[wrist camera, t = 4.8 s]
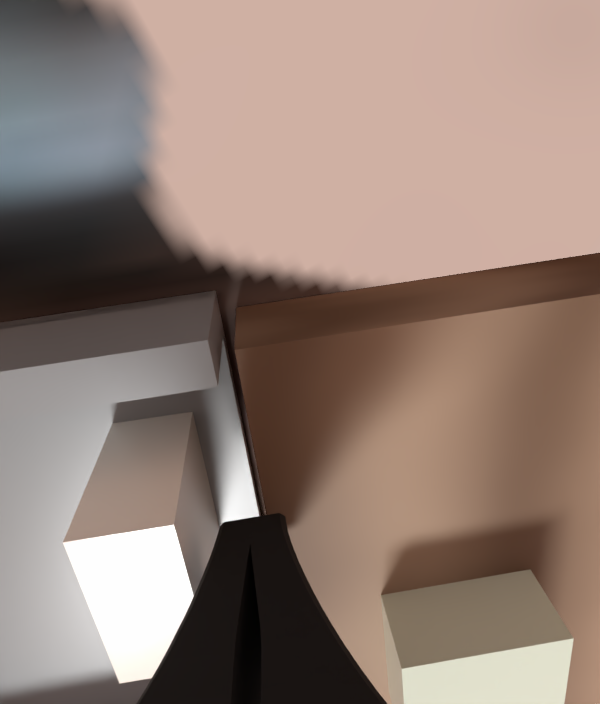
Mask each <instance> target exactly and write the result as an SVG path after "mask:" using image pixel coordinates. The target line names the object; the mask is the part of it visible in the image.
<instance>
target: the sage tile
mask: <svg viewBox="0 0 600 704" xmlns="http://www.w3.org/2000/svg"><path fill="white" fill-rule="evenodd" d="M381 604H382V616H383V628H384V640H385V652H386V664H387V676H388V688H389V694H390V698H391V702H392V704H564V702H565V695H566V688H567V681H568V674H569V667H570V661H571V654H572V647H573V640H574V638H573V636H572V635H571V633H570V632H569V630H568V629H567V627H566V625H565V624H564V622H563V621H562V619H561V617H560V616H559V614H558V613H557V611H556V609H555V608H554V606H553V605H552V603H551V601H550V600H549V598H548V597H547V595H546V593H545V592H544V590H543V589H542V587H541V585H540V584H539V582H538V581H537V579H536V577H535V576H534V574H533V573H532V571H531V569H530V570H524V571H518V572H512V573H506V574H501V575H495V576H489V577H483V578H477V579H471V580H466V581H460V582H454V583H448V584H442V585H437V586H431V587H425V588H419V589H413V590H407V591H402V592H396V593H390V594H384V595H381Z"/></svg>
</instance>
